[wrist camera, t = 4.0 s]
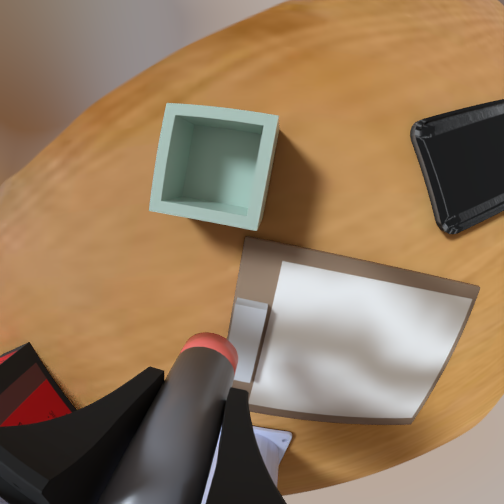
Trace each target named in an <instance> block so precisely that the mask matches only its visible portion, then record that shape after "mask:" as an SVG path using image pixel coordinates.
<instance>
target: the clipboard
mask: <svg viewBox="0 0 504 504" xmlns="http://www.w3.org/2000/svg"><path fill="white" fill-rule="evenodd" d="M479 290H480V287H479V286H477V285H473V284H468V283H464V282H460V281H455V280H451V279H447V278H442V277H438V276H433V275H429V274H425V273H420V272H416V271H411V270H407V269H402V268H398V267H393V266H389V265H384V264H379V263H375V262H370V261H366V260H361V259H356V258H352V257H347V256H342V255H338V254H333V253H328V252H323V251H319V250H314V249H309V248H304V247H299V246H294V245H290V244H285V243H280V242H275V241H270V240H265V239H260V238H255V237H250V236H246V237H245V241H244V247H243V252H242V258H241V263H240V269H239V274H238V280H237V286H236V291H235V297H234V303H233V308H232V314H231V320H230V326H229V331H228V337H227V340H228V341H230V342H231V343H232V344H233V346H234V347H235V349H236V351H237V353H238V364H237V368H236V372H235V376H234V380H233V384H232V387H233V388H238V389H243V390H247V391H248V393H249V396H248V399H249V411H250V412H255V413H261V414H267V415H273V416H280V417H287V418H294V419H302V420H311V421H321V422H332V423H347V424H371V425H405V424H411V423H412V422H413V420H414V419H415V417H416V416H417V414H418V413H419V411H420V410H421V408H422V407H423V405H424V404H425V402H426V400H427V399H428V397H429V395H430V394H431V392H432V390H433V389H434V387H435V385H436V383H437V382H438V380H439V378H440V376H441V375H442V373H443V371H444V369H445V367H446V365H447V363H448V361H449V359H450V357H451V355H452V353H453V351H454V349H455V347H456V345H457V343H458V341H459V339H460V337H461V335H462V332H463V330H464V328H465V325H466V323H467V321H468V318H469V316H470V314H471V311H472V309H473V306H474V303H475V301H476V298H477V295H478V293H479Z"/></svg>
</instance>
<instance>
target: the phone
mask: <svg viewBox="0 0 504 504" xmlns="http://www.w3.org/2000/svg"><path fill="white" fill-rule="evenodd" d="M410 137H411V141H412V144H413V147H414V150H415V153H416V155H417V158H418V161H419V164H420V167H421V171H422V174H423V177H424V180H425V183H426V187H427V190H428V194H429V197H430V201H431V205H432V209H433V213H434V217H435V221H436V223H437V226H438V227H439V228H440V229H441V230H442V231H444V232H447V233H449V234H456V233H459V232H461V231H463V230H465V229H467V228H469V227H471V226H474V225H476V224H478V223H480V222H482V221H484V220H486V219H488V218H490V217H492V216H494V215H496V214H498V213H500V212H502V211H504V99H502V100H498V101H493V102H488V103H484V104H480V105H475V106H471V107H467V108H463V109H459V110H455V111H451V112H447V113H443V114H440V115H436V116H432V117H429V118H425V119H422V120H419V121H417V122H415V123H414V125H413V126H412V128H411V131H410Z"/></svg>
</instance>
